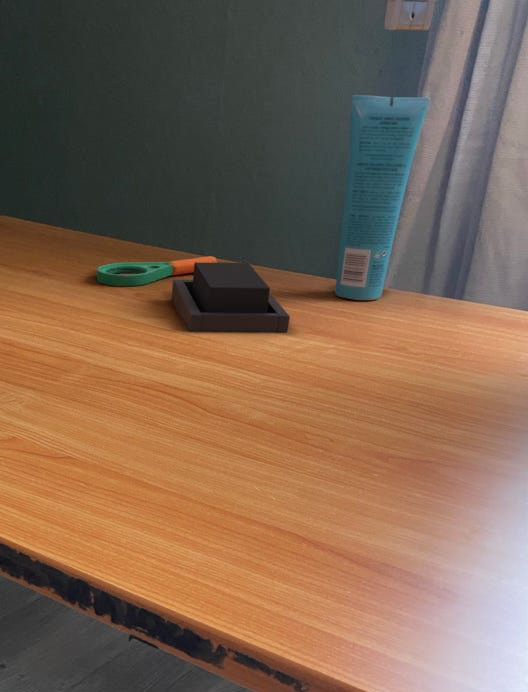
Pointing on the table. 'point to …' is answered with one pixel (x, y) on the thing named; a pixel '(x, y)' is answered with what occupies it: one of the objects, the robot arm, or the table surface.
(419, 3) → the robot arm
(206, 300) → the black block
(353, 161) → the tube
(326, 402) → the table surface
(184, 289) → the black tray
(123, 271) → the magnifying glass
